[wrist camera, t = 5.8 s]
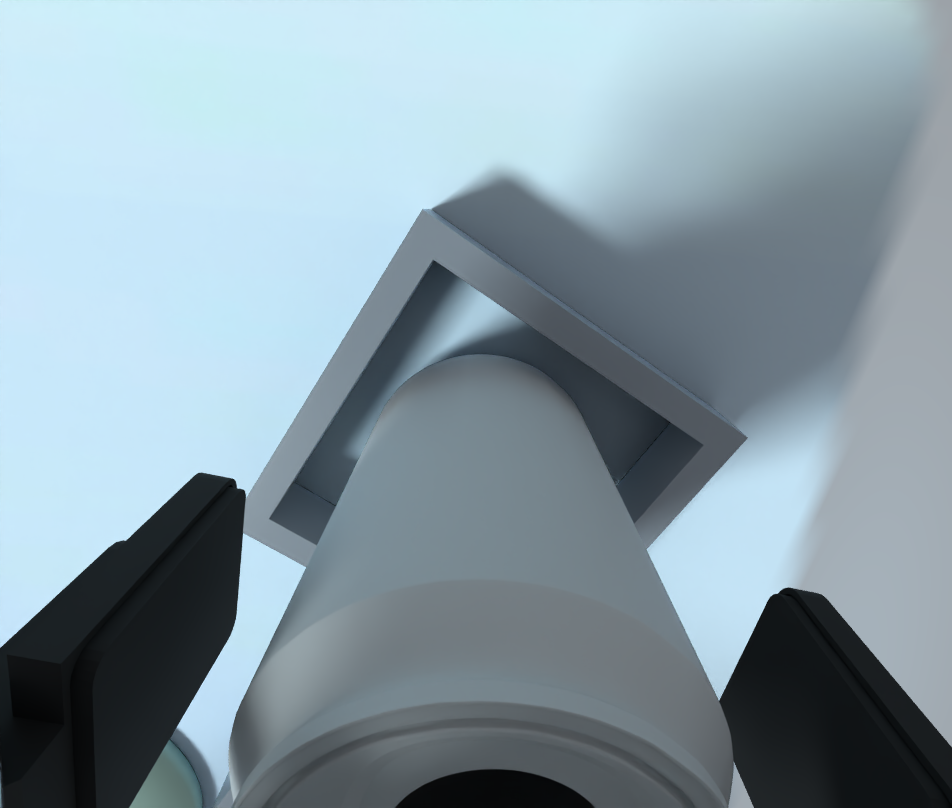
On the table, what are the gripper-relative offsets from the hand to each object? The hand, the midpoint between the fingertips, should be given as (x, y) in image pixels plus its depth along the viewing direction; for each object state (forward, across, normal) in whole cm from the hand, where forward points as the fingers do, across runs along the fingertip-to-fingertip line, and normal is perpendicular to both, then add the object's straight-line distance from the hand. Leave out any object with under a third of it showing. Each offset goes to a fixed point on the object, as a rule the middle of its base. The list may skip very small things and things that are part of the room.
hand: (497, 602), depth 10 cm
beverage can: (+8, 0, +1) cm, 8 cm away
